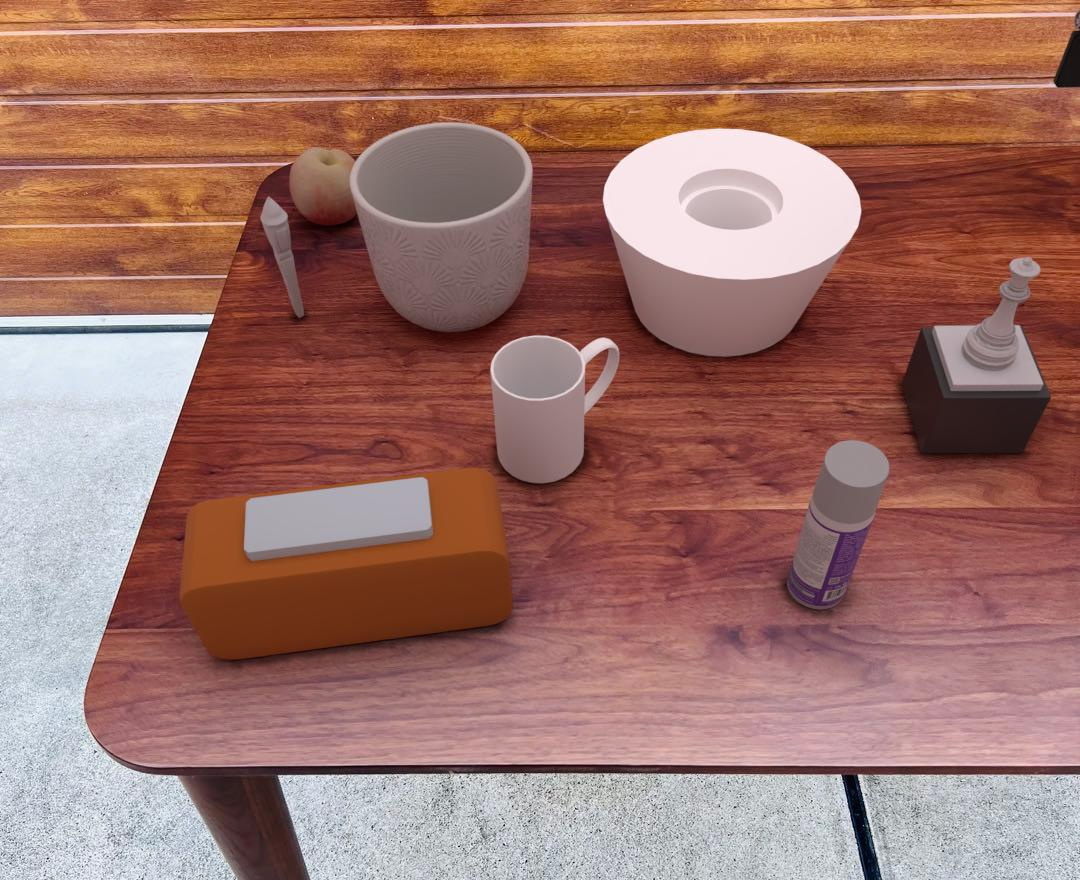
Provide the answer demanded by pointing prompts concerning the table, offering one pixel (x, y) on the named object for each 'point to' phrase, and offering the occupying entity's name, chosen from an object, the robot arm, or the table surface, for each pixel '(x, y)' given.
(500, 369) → the mug
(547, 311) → the table surface
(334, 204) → the fruit
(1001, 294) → the chess piece
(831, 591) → the container
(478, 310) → the planter
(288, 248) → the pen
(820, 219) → the white tapered cylinder
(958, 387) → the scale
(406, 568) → the alarm clock
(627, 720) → the table surface
